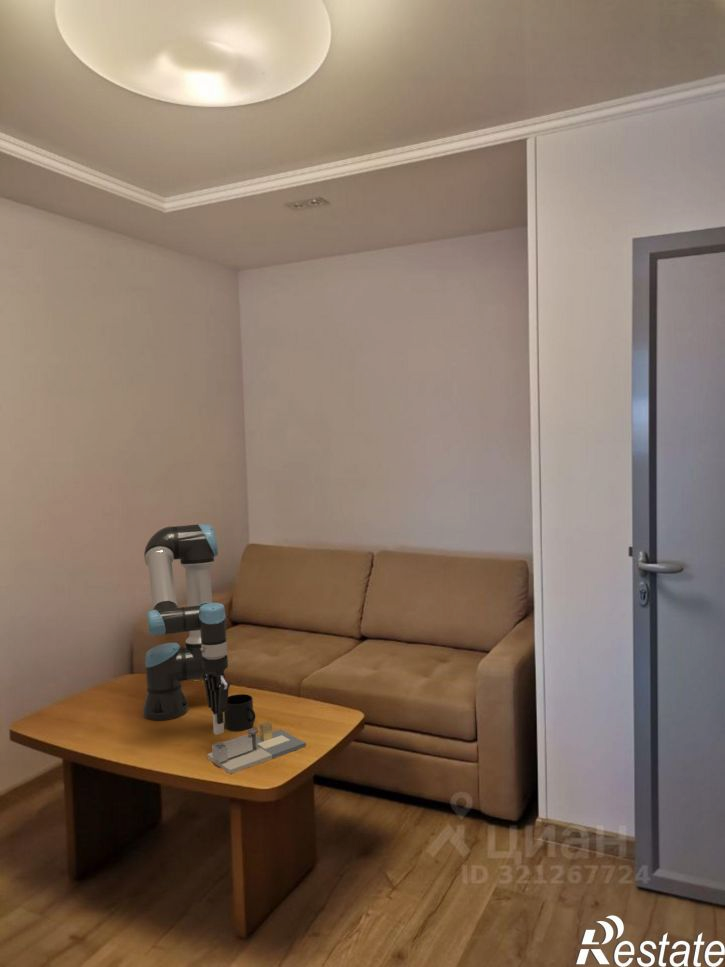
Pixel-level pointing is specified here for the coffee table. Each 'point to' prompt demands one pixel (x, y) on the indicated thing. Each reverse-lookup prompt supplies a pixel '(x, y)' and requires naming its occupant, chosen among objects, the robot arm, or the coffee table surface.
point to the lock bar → (231, 748)
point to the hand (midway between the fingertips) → (218, 732)
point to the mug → (239, 713)
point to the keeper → (265, 731)
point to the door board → (261, 751)
